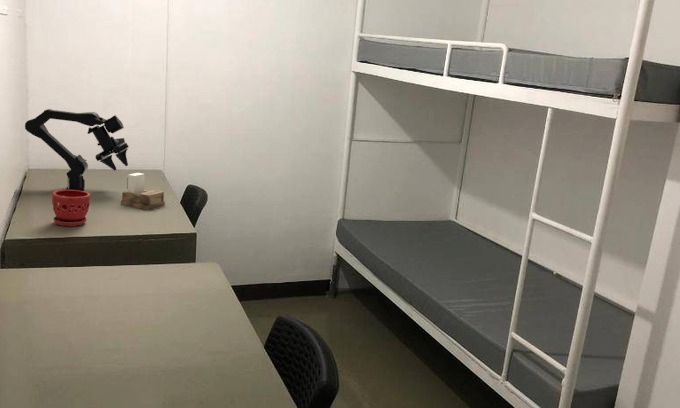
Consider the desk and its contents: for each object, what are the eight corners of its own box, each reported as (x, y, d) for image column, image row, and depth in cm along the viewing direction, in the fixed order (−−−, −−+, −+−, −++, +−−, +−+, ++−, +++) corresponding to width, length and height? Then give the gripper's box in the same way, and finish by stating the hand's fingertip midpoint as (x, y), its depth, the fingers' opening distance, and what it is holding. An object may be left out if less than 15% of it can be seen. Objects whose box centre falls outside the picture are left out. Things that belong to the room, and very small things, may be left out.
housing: (120, 203, 272) (121, 190, 270) (139, 199, 282) (139, 186, 281) (146, 209, 267) (147, 195, 265) (164, 204, 277) (165, 191, 276)
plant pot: (73, 230, 230) (73, 198, 227) (44, 223, 234) (44, 192, 231) (97, 222, 242) (97, 192, 239) (69, 216, 246) (69, 187, 243)
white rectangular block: (125, 198, 274) (126, 174, 271) (135, 196, 279) (136, 172, 277) (134, 200, 272) (134, 175, 269) (143, 198, 278) (144, 173, 275)
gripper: (127, 126, 285) (145, 156, 290) (105, 136, 296) (122, 164, 301) (110, 135, 277) (128, 166, 281) (87, 145, 288) (105, 175, 292)
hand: (121, 168), depth 289 cm, fingers open, 9 cm apart
